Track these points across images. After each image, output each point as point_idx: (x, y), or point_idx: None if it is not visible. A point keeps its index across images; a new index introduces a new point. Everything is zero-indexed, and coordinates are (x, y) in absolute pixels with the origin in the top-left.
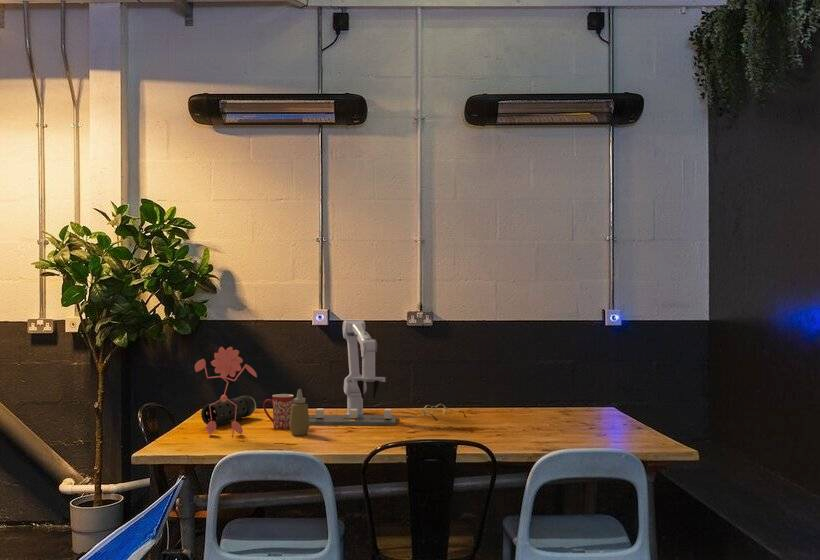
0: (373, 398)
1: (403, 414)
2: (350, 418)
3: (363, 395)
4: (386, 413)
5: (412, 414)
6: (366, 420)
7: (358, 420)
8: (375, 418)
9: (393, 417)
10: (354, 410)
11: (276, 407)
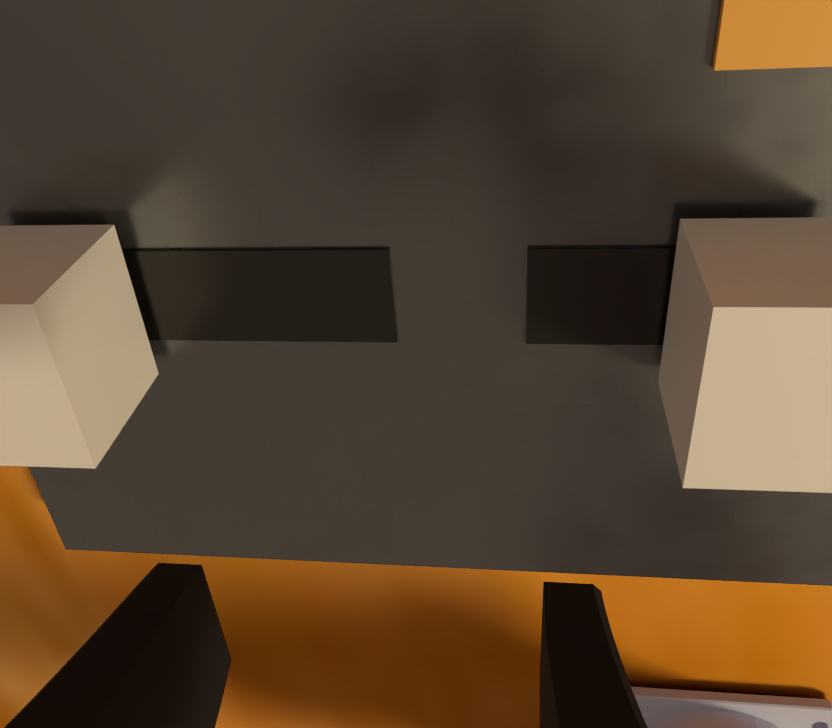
0: (197, 566)
1: None
2: None
3: (545, 702)
4: (17, 273)
5: None
6: (443, 66)
7: (631, 50)
8: (301, 285)
9: None
10: (774, 301)
11: None
